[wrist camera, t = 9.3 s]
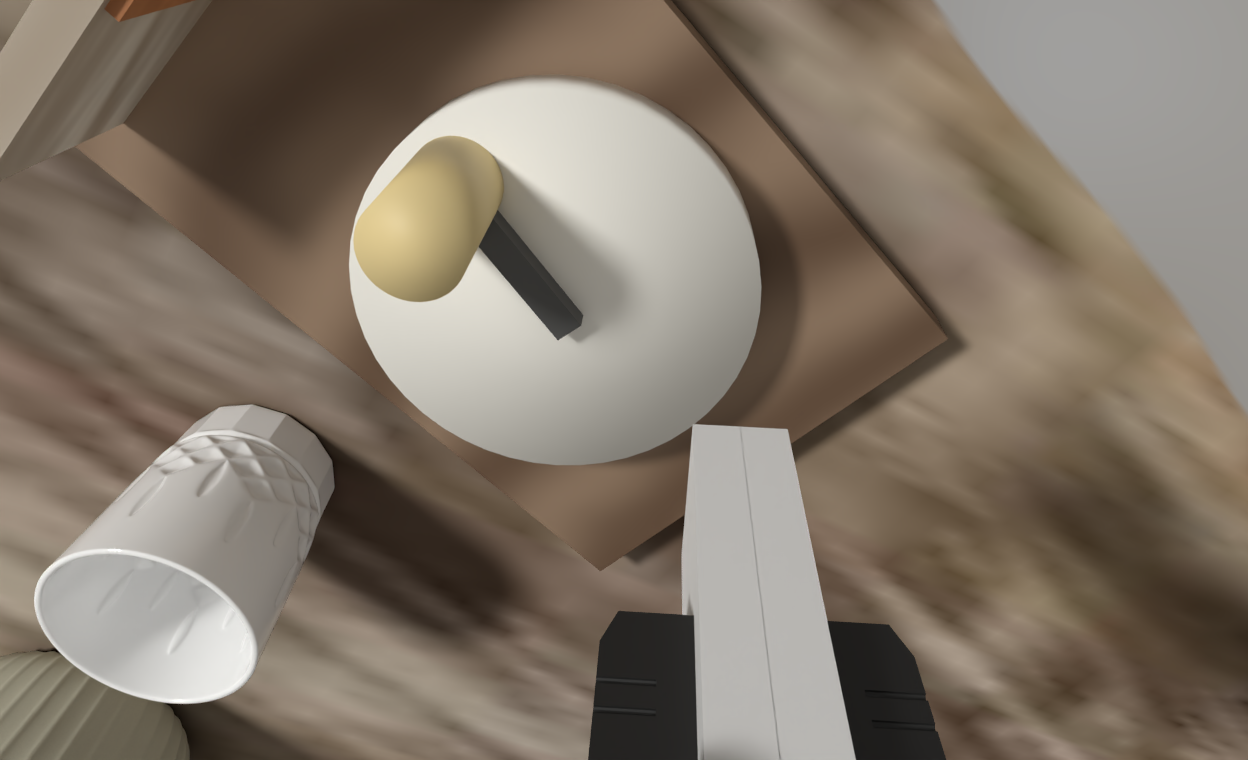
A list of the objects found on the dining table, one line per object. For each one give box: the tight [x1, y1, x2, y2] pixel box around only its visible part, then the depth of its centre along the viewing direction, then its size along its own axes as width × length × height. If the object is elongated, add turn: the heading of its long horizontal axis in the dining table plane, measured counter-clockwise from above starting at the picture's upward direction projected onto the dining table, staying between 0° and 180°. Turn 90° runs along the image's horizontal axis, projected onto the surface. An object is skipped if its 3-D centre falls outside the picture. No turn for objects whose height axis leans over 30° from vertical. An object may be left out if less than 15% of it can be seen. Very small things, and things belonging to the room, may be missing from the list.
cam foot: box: [349, 74, 761, 465], centre depth 27 cm, size 14×14×8 cm
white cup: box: [34, 404, 335, 704], centre depth 35 cm, size 8×8×10 cm
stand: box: [0, 0, 948, 571], centre depth 28 cm, size 27×18×9 cm, turn 43°
